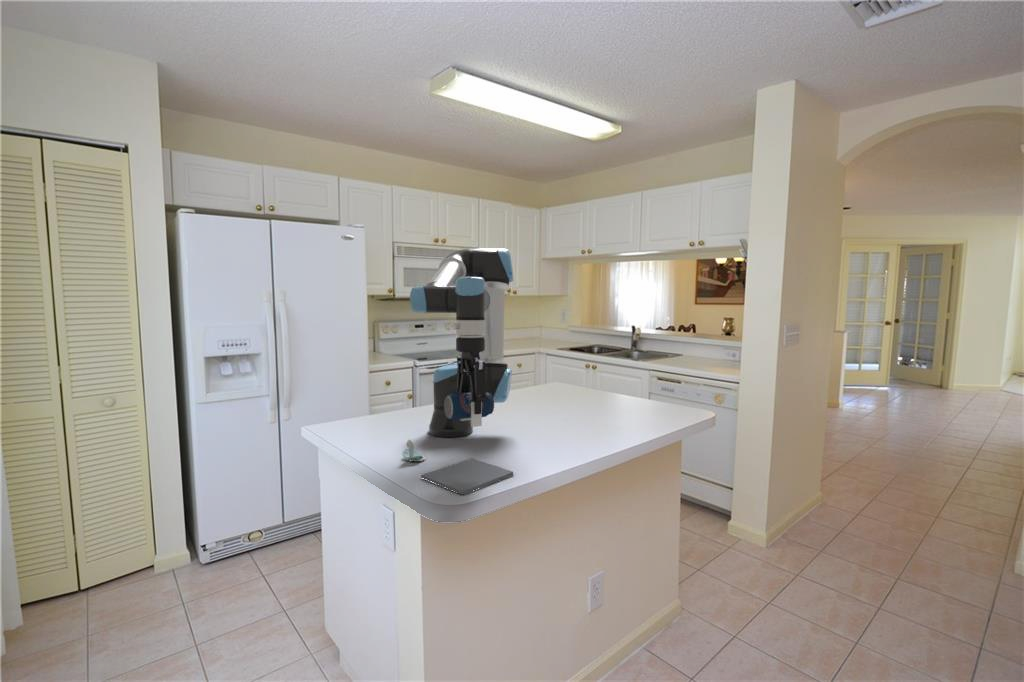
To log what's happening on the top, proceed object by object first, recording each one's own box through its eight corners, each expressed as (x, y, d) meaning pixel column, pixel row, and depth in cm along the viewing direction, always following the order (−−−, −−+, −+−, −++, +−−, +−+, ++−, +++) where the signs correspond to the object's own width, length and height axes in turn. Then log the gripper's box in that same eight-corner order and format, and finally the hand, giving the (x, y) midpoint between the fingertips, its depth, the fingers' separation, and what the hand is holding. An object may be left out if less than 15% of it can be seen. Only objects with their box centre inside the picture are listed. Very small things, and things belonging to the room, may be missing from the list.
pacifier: (420, 455, 147) (400, 457, 144) (420, 434, 147) (401, 436, 144) (428, 462, 141) (408, 465, 138) (429, 441, 140) (409, 443, 137)
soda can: (450, 391, 125) (493, 388, 130) (441, 395, 131) (483, 392, 136) (453, 419, 123) (496, 414, 129) (444, 422, 129) (486, 417, 135)
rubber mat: (421, 478, 128) (421, 474, 127) (472, 461, 141) (472, 457, 141) (462, 495, 117) (462, 491, 117) (513, 475, 130) (513, 471, 130)
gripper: (444, 334, 136) (444, 416, 137) (472, 339, 118) (472, 433, 120) (469, 334, 139) (469, 414, 141) (500, 338, 122) (499, 429, 123)
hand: (470, 422), depth 130 cm, fingers closed on soda can, 7 cm apart
